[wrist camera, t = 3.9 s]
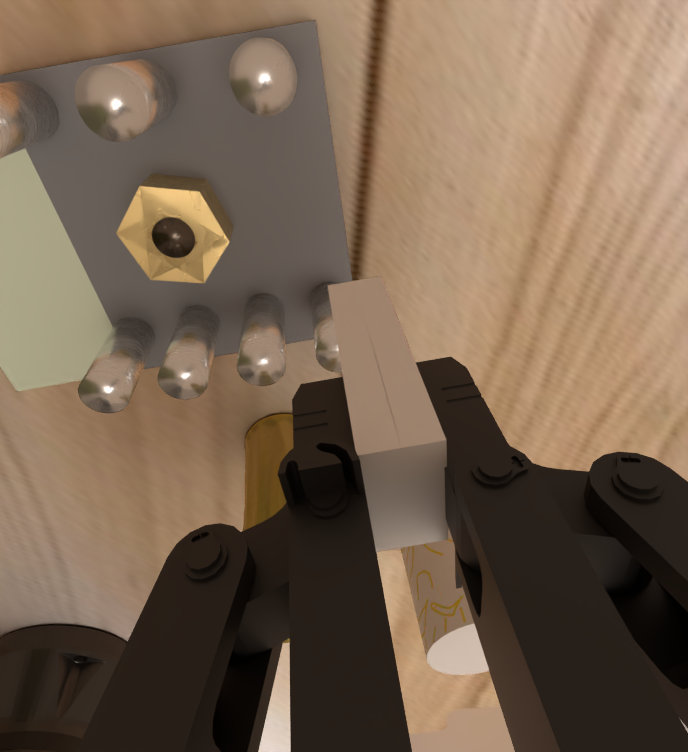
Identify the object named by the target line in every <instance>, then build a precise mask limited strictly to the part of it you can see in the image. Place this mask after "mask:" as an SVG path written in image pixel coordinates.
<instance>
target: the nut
mask: <svg viewBox="0 0 688 752" xmlns="http://www.w3.org/2000/svg"><path fill="white" fill-rule="evenodd" d="M233 227H234V226H233V224H232V222H231V221H230V219H229V217H228V216H227V214H226V212H225V210H224V209H223V207H222V205H221V203H220V202H219V200H218V198H217V196H216V195H215V193H214V191H213V189H212V188H211V186H210V184H209V182H208V181H207V179H202V178H192V177H182V176H171V175H161V174H151V175H150V176H149V177H148V178H147V179H146V180H145V181H144V182H143V183H142V184H141V185H140V186H139V188H138V190H137V192H136V194H135V196H134V198H133V200H132V202H131V204H130V206H129V208H128V210H127V212H126V214H125V216H124V218H123V220H122V222H121V224H120V226H119V229H118V231H117V233H116V234H117V235H118V236H119V238H120V239H121V240H122V242H123V243H124V245H125V246H126V247H127V249H128V250H129V251H130V253H131V254H132V255H133V257H134V258H135V260H136V261H137V262H138V264H139V265H140V266H141V268H142V269H143V270H144V272H145V273H146V275H147V276H148V277H149V279H150V280H161V281H176V282H191V283H205V281H206V279H207V278H208V276H209V275H210V273H211V271H212V270H213V268H214V266H215V265H216V263H217V262H218V260H219V258H220V257H221V255H222V254H223V252H224V250H225V249H226V247H227V246H228V244H229V242H230V239H231V235H232V231H233Z"/></svg>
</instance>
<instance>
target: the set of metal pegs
mask: <svg viewBox="0 0 688 752" xmlns="http://www.w3.org/2000/svg"><path fill="white" fill-rule="evenodd" d="M229 80H230V85H231V88H232V91H233V93H234V95H235V97H236V99H237V100H238V102H239V103H240V104H241V105H242V106H243V107H244V108H245V109H246V110H248V111H249V112H251V113H253V114H255V115H258V116H265V117H268V116H274V115H277V114H279V113H281V112H282V111H284V110H285V109H286V108H287V107H288V106H289V105H290V103H291V102H292V100H293V98H294V96H295V93H296V89H297V72H296V68H295V65H294V62H293V60H292V58H291V56H290V54H289V52H288V51H287V49H286V48H285V47H284V46H283V45H282V44H281V43H279V42H278V41H276V40H274V39H271V38H262V37H258V38H252V39H249V40H247V41H245V42H244V43H242V44H241V45H240V46H239V47H238V48H237V50H236V51H235V53H234V54H233V57H232V59H231V62H230V67H229ZM74 96H75V103H76V107H77V110H78V112H79V114H80V116H81V118H82V120H83V121H84V122H85V124H86V125H87V126H88V127H89V128H90V129H91V130H92V131H93V132H94V133H96V134H97V135H98V136H100V137H102V138H104V139H106V140H109V141H113V142H126V141H130V140H132V139H134V138H135V137H137V136H138V135H140V134H141V133H143V132H144V131H146V130H147V129H149V128H150V127H152V126H153V125H155V124H156V123H158V122H159V121H161V120H162V119H164V118H165V117H167V116H168V115H169V114H170V113H171V112H172V111H173V109H174V107H175V104H176V88H175V85H174V82H173V80H172V78H171V76H170V75H169V73H168V72H167V71H166V70H165V69H164V68H163V67H162V66H161V65H159V64H158V63H156V62H154V61H151V60H147V59H138V60H131V61H124V62H117V63H110V64H103V65H96V66H93V67H90V68H88V69H86V70H85V71H84V72H83V73H82V74H81V75H80V76H79V78H78V80H77V82H76V85H75V93H74ZM58 127H59V113H58V110H57V107H56V105H55V103H54V101H53V100H52V98H51V97H50V96H49V95H48V93H47V92H46V91H44V90H43V89H42V88H41V87H39V86H37V85H36V84H34V83H31V82H28V81H12V82H6V83H0V159H1V158H4V157H6V156H8V155H11V154H13V153H15V152H18V151H20V150H22V149H25V148H27V147H29V146H32V145H34V144H36V143H39V142H41V141H43V140H46V139H48V138H50V137H52V136H53V135H54V134H55V133H56V131H57V129H58ZM333 284H339V283H338V282H333V281H328V282H324V283H321V284H319V285H318V286H317V287H316V288H315V289H314V290H313V291H312V294H311V297H310V304H311V313H312V322H313V331H314V341H315V350H316V357H317V360H318V362H319V364H320V365H321V366H322V367H323V368H325V369H326V370H328V371H331V372H342V368H341V362H340V356H339V350H338V345H337V339H336V333H335V327H334V321H333V315H332V309H331V303H330V297H329V291H328V286H327V285H333ZM219 328H220V321H219V318H218V316H217V315H216V313H215V312H214V311H213V310H211V309H210V308H208V307H205V306H202V305H193V306H189V307H187V308H185V309H184V310H183V311H182V312H181V314H180V316H179V319H178V322H177V324H176V327H175V330H174V333H173V335H172V338H171V341H170V343H169V346H168V349H167V352H166V354H165V357H164V360H163V362H162V365H161V368H160V371H159V374H158V383H159V385H160V387H161V388H162V390H163V391H164V392H165V393H167V394H168V395H170V396H172V397H174V398H177V399H183V400H188V399H193V398H196V397H198V396H200V395H201V394H203V393H204V391H205V390H206V388H207V384H208V379H209V375H210V370H211V365H212V361H213V356H214V352H215V347H216V342H217V338H218V333H219ZM154 341H155V333H154V330H153V329H152V327H151V326H150V325H149V324H148V323H147V322H145V321H144V320H142V319H139V318H136V317H125V318H122V319H120V320H118V321H117V322H116V323H115V325H114V327H113V328H112V330H111V332H110V333H109V335H108V337H107V339H106V340H105V342H104V344H103V345H102V347H101V349H100V350H99V352H98V354H97V356H96V357H95V359H94V361H93V362H92V364H91V366H90V368H89V369H88V371H87V373H86V374H85V376H84V378H83V380H82V381H81V383H80V385H79V388H78V393H79V397H80V399H81V400H82V402H83V403H84V404H85V405H87V406H88V407H89V408H91V409H93V410H95V411H98V412H102V413H115V412H119V411H121V410H123V409H124V408H125V407H126V406H127V405H128V403H129V401H130V399H131V396H132V394H133V391H134V389H135V387H136V384H137V382H138V380H139V377H140V375H141V372H142V370H143V368H144V365H145V363H146V361H147V358H148V356H149V353H150V351H151V349H152V346H153V344H154ZM237 369H238V372H239V374H240V376H241V377H242V378H243V379H244V380H245V381H246V382H248V383H250V384H253V385H257V386H267V385H271V384H274V383H276V382H277V381H278V380H280V379H281V377H282V376H283V374H284V372H285V308H284V305H283V303H282V302H281V301H280V299H278V298H277V297H276V296H274V295H271V294H268V293H260V294H257V295H254V296H252V297H251V298H250V299H249V300H248V301H247V303H246V305H245V310H244V317H243V325H242V332H241V339H240V346H239V354H238V361H237Z"/></svg>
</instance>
